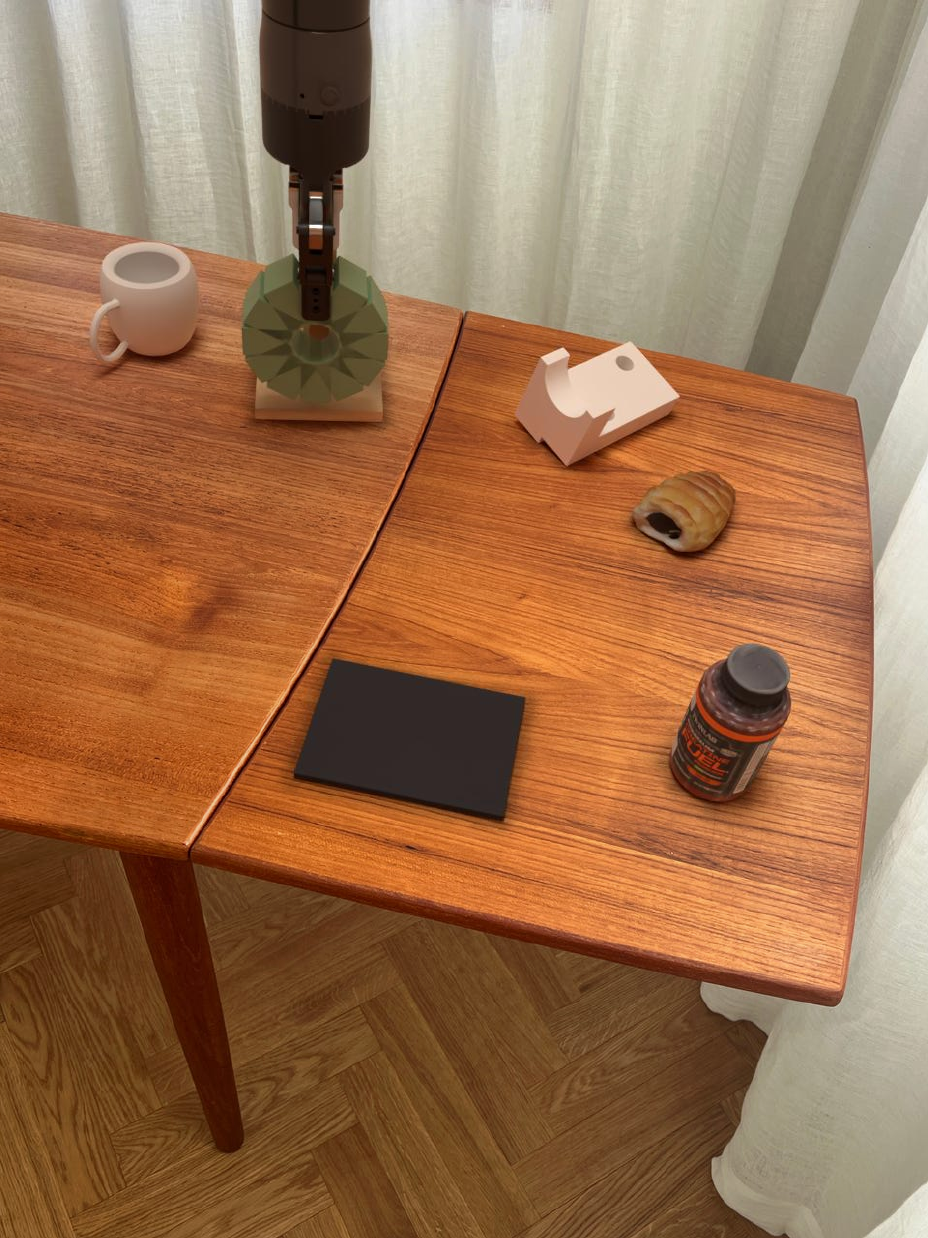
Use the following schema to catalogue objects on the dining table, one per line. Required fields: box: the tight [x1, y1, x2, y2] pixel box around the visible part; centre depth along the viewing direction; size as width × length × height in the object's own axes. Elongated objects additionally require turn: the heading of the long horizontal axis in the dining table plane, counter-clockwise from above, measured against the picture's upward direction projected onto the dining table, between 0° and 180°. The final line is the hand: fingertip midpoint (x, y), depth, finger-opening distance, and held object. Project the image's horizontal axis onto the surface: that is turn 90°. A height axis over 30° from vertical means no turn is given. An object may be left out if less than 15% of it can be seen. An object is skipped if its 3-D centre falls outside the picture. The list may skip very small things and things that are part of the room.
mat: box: [293, 657, 526, 822], centre depth 76 cm, size 14×10×1 cm
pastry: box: [632, 470, 737, 553], centre depth 92 cm, size 9×7×4 cm
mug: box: [88, 241, 200, 365], centre depth 99 cm, size 12×8×8 cm
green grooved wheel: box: [240, 253, 390, 403], centre depth 90 cm, size 4×12×12 cm, turn 95°
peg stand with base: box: [254, 248, 384, 423], centre depth 97 cm, size 13×11×12 cm
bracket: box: [513, 340, 681, 467], centre depth 98 cm, size 13×7×8 cm, turn 130°
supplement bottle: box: [669, 643, 792, 803], centre depth 72 cm, size 6×6×11 cm
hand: (315, 300), depth 88 cm, fingers closed on green grooved wheel, 4 cm apart
